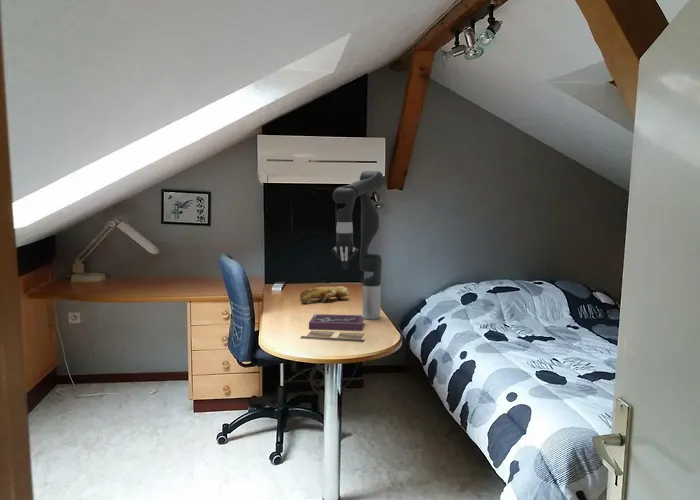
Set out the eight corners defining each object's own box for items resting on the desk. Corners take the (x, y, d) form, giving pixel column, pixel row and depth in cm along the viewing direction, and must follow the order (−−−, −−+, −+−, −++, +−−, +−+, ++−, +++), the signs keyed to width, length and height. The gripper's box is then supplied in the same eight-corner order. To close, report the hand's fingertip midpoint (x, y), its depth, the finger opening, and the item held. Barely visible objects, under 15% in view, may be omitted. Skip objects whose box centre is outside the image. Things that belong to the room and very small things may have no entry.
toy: (302, 309, 312) (351, 303, 321) (302, 294, 309) (352, 288, 318) (296, 299, 325) (344, 293, 334) (296, 284, 322) (344, 279, 331)
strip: (301, 339, 245) (301, 335, 245) (364, 343, 239) (364, 339, 239) (299, 341, 242) (299, 337, 242) (363, 345, 236) (363, 341, 236)
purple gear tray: (364, 324, 271) (364, 315, 270) (362, 334, 255) (362, 323, 254) (314, 323, 273) (314, 313, 273) (308, 332, 257) (308, 322, 257)
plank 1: (311, 332, 254) (311, 330, 254) (334, 334, 251) (334, 331, 251) (306, 339, 245) (305, 336, 245) (329, 340, 243) (329, 337, 243)
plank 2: (340, 334, 251) (340, 332, 251) (364, 336, 249) (364, 333, 248) (336, 341, 242) (336, 338, 242) (360, 342, 240) (360, 339, 240)
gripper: (360, 230, 253) (360, 267, 255) (332, 230, 255) (333, 266, 258) (357, 232, 245) (357, 270, 248) (328, 232, 248) (329, 269, 251)
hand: (344, 268), depth 253 cm, fingers closed
